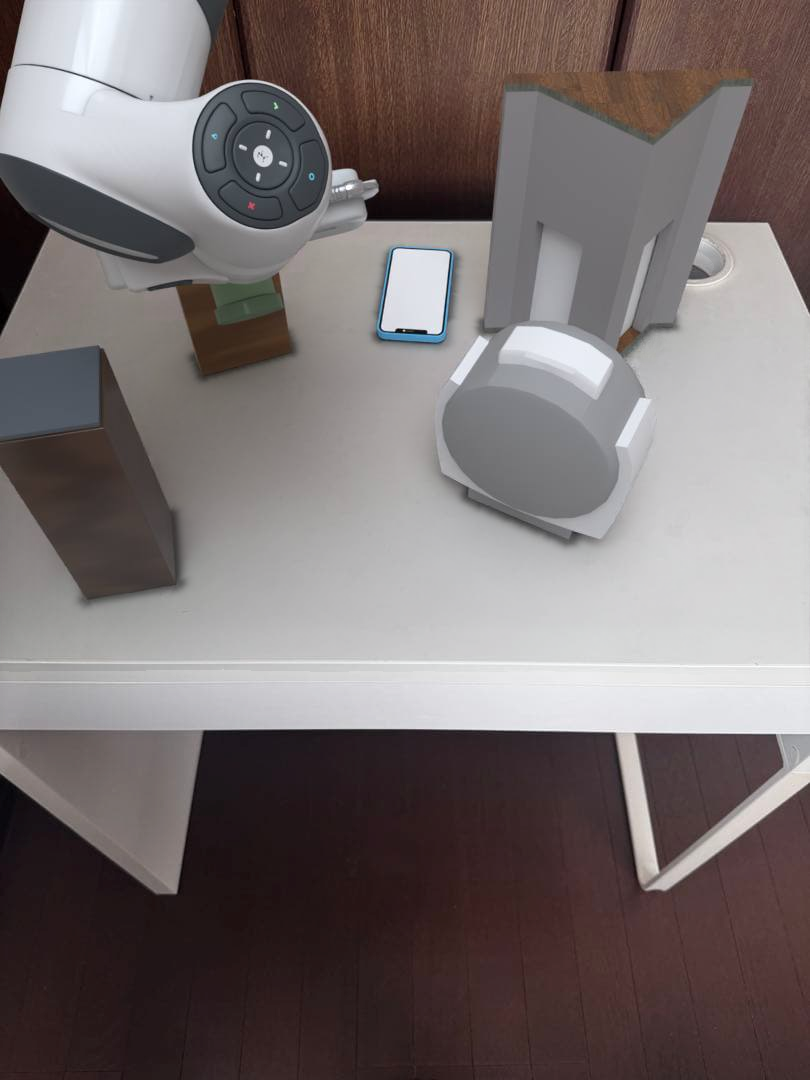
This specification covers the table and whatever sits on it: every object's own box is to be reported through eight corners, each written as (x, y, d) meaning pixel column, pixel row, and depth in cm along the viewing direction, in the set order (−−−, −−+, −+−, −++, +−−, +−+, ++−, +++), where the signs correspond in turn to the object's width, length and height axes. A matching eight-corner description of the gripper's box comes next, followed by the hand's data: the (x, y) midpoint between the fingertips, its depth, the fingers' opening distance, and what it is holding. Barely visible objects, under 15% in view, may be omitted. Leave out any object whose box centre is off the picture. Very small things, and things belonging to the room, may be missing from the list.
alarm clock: (631, 502, 84) (687, 351, 67) (599, 569, 80) (650, 426, 63) (464, 435, 89) (476, 277, 72) (425, 495, 85) (428, 343, 68)
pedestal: (86, 599, 79) (-14, 445, 60) (87, 527, 83) (-7, 362, 64) (176, 584, 79) (104, 428, 61) (171, 513, 84) (103, 347, 65)
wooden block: (292, 352, 95) (275, 246, 83) (202, 376, 93) (172, 272, 82) (284, 333, 97) (266, 227, 85) (196, 357, 95) (165, 252, 83)
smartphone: (454, 249, 103) (444, 337, 94) (453, 257, 104) (444, 345, 95) (390, 245, 103) (376, 333, 95) (391, 253, 104) (376, 341, 96)
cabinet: (669, 317, 98) (750, 68, 74) (686, 381, 92) (780, 134, 69) (483, 322, 97) (505, 73, 74) (490, 386, 92) (516, 141, 69)
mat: (-11, 443, 60) (-14, 438, 60) (-4, 364, 64) (-7, 359, 64) (101, 426, 61) (99, 421, 61) (100, 349, 65) (98, 344, 65)
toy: (295, 339, 74) (274, 203, 63) (226, 358, 73) (192, 222, 62) (253, 247, 81) (228, 109, 70) (190, 262, 80) (154, 125, 69)
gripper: (372, 132, 60) (337, 177, 73) (74, 199, 56) (93, 234, 69) (396, 226, 62) (357, 253, 75) (107, 298, 58) (119, 314, 71)
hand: (228, 245), depth 72 cm, fingers closed on toy, 5 cm apart
